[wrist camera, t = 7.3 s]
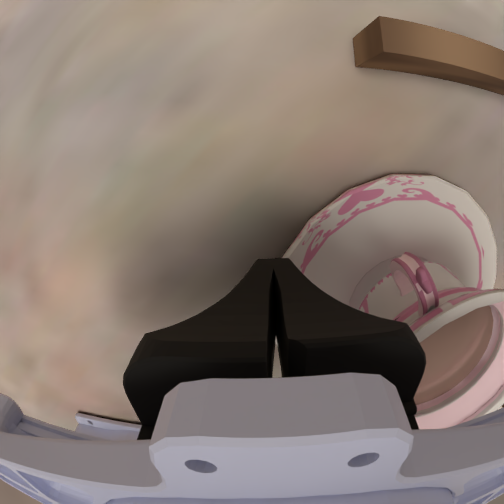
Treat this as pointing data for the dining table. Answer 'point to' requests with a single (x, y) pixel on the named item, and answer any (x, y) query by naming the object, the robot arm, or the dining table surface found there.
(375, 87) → the dining table surface
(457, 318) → the teacup
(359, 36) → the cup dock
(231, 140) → the dining table surface
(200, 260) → the dining table surface
